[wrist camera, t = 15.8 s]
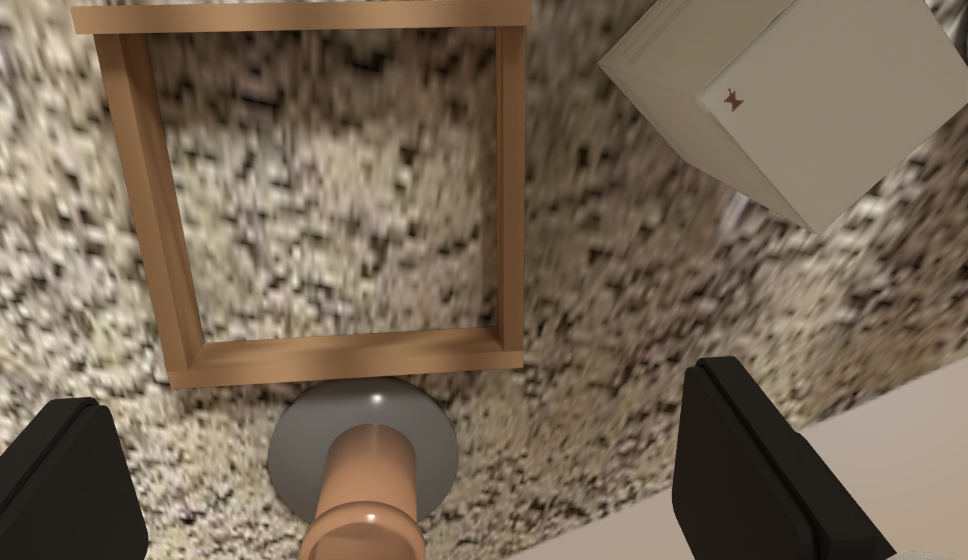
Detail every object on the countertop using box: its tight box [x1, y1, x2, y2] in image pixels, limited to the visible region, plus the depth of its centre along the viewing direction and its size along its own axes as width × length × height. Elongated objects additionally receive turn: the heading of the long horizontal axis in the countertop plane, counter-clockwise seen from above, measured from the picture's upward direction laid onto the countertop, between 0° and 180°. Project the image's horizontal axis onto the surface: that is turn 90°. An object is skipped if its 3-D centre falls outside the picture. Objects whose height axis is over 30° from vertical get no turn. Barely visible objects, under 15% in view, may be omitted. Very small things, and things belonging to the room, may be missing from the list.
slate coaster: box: [268, 376, 458, 524], centre depth 40 cm, size 11×11×1 cm
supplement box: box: [598, 0, 968, 234], centre depth 28 cm, size 7×7×13 cm
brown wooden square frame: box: [70, 0, 532, 389], centre depth 33 cm, size 18×18×4 cm
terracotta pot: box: [299, 424, 425, 560], centre depth 36 cm, size 6×6×8 cm
